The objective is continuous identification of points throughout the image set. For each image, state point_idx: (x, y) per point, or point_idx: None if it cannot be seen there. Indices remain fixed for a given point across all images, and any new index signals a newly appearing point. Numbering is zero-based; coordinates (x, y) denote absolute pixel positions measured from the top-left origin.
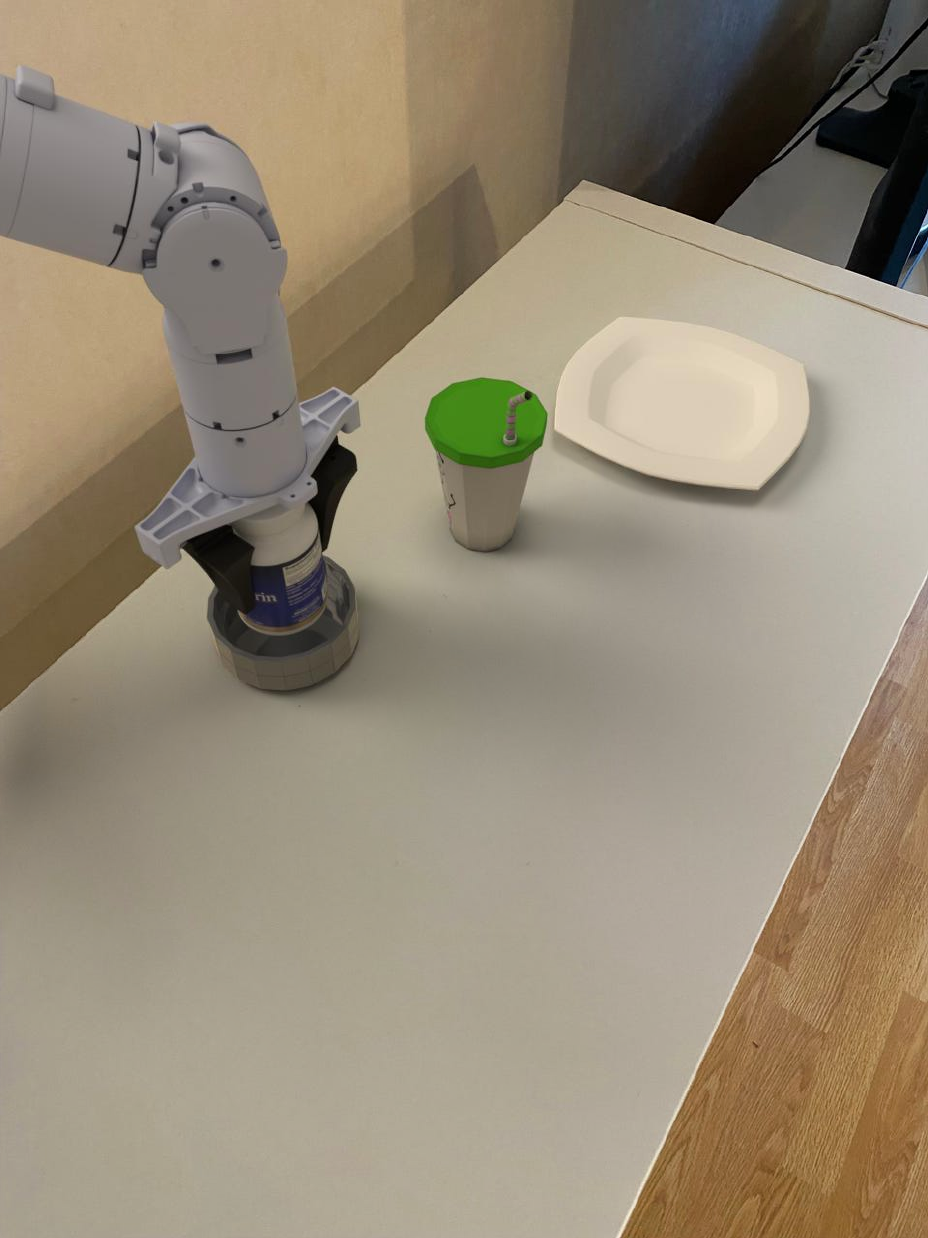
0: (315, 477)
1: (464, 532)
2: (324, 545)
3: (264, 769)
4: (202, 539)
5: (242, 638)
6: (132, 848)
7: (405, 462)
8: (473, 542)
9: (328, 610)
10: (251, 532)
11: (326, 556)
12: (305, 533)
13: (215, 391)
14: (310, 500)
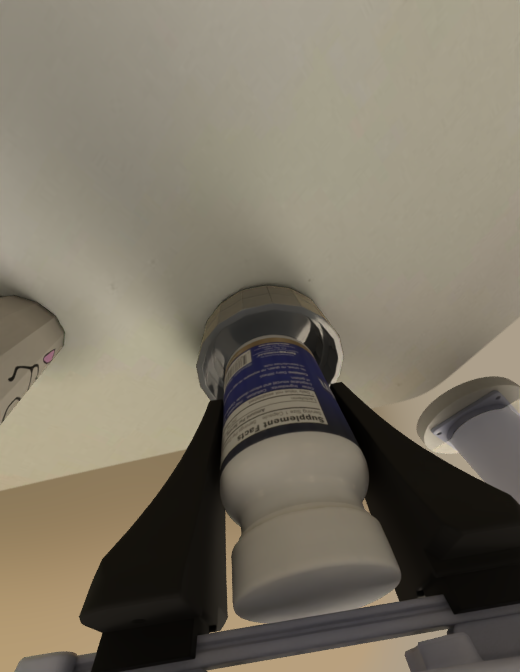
0: (200, 575)
1: (41, 332)
2: (215, 408)
3: (379, 247)
4: (516, 584)
5: None
6: (490, 262)
7: (70, 418)
8: (40, 317)
9: (224, 342)
10: (378, 524)
11: (201, 387)
12: (275, 465)
13: None
14: (213, 494)
